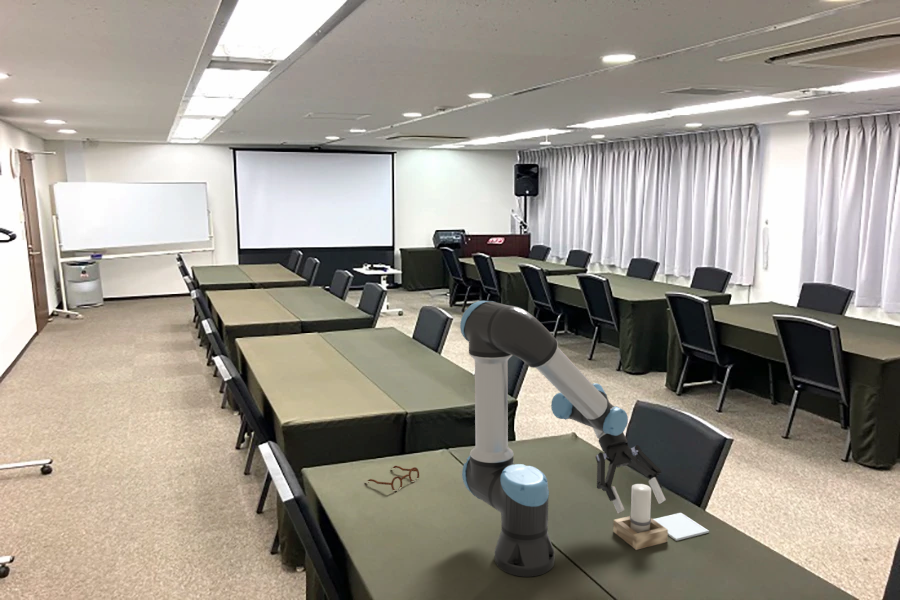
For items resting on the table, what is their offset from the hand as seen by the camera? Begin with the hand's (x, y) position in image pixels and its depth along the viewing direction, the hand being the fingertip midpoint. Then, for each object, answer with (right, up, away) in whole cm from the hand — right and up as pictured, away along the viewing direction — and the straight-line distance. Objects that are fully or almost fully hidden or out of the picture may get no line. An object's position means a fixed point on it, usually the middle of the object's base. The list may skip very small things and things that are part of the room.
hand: (642, 506), depth 174 cm
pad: (+11, -7, +5) cm, 14 cm away
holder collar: (-1, -8, 0) cm, 8 cm away
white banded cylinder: (-1, -8, 0) cm, 8 cm away
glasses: (-71, -4, +37) cm, 80 cm away
